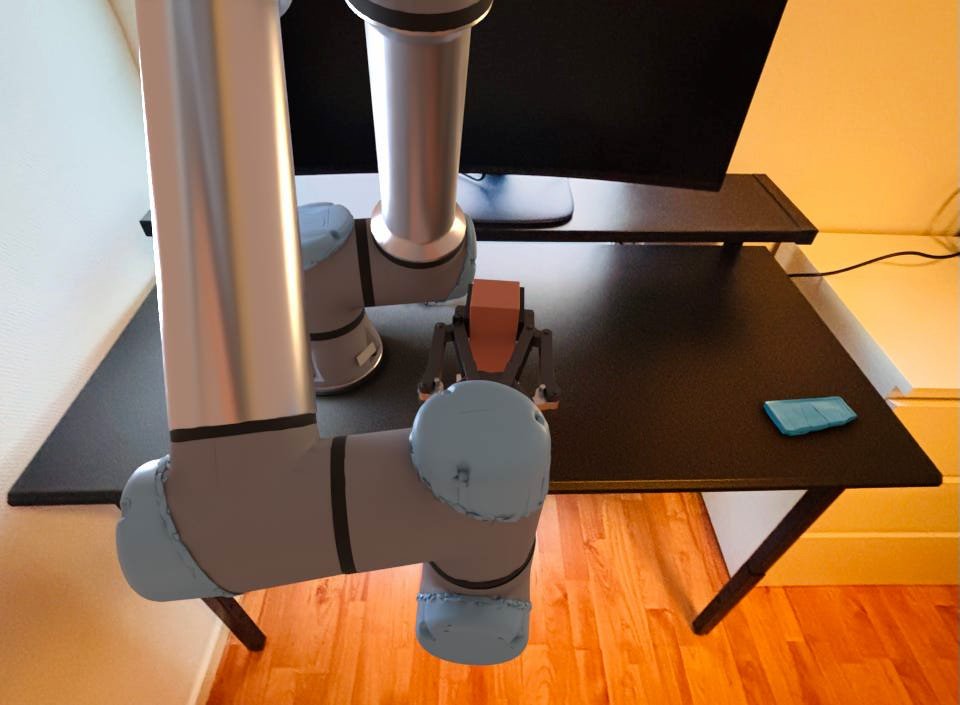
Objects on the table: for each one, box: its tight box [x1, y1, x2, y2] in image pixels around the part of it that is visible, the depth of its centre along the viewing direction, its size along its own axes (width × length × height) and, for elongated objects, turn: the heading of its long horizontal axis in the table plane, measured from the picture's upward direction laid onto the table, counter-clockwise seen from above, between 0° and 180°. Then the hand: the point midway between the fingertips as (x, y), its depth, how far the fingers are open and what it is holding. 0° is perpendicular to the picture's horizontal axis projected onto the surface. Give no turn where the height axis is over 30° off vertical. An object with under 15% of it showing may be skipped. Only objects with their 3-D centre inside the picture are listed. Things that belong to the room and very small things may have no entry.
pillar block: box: [468, 278, 521, 373], centre depth 59 cm, size 5×5×10 cm
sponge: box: [763, 396, 858, 437], centre depth 74 cm, size 2×12×6 cm
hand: (495, 295), depth 62 cm, fingers closed on pillar block, 5 cm apart
